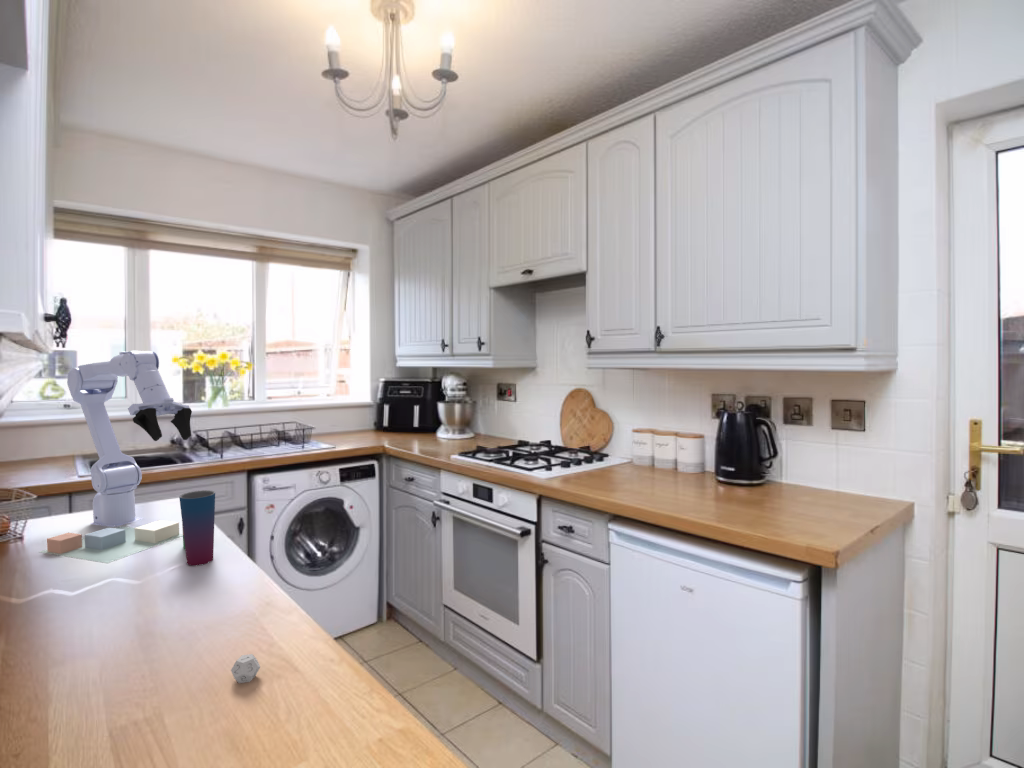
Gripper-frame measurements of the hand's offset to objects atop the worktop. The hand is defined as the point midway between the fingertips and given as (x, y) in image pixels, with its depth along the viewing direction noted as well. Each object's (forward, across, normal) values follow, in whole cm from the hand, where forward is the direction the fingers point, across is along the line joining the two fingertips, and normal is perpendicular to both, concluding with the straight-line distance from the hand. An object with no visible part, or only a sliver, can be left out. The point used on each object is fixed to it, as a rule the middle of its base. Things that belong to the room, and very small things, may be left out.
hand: (173, 438), depth 130 cm
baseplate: (+15, -4, +24) cm, 29 cm away
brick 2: (+14, -6, +24) cm, 29 cm away
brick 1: (+11, -11, +30) cm, 34 cm away
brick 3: (+17, +2, +18) cm, 25 cm away
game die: (+60, -34, -32) cm, 76 cm away
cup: (+31, -5, +1) cm, 32 cm away
